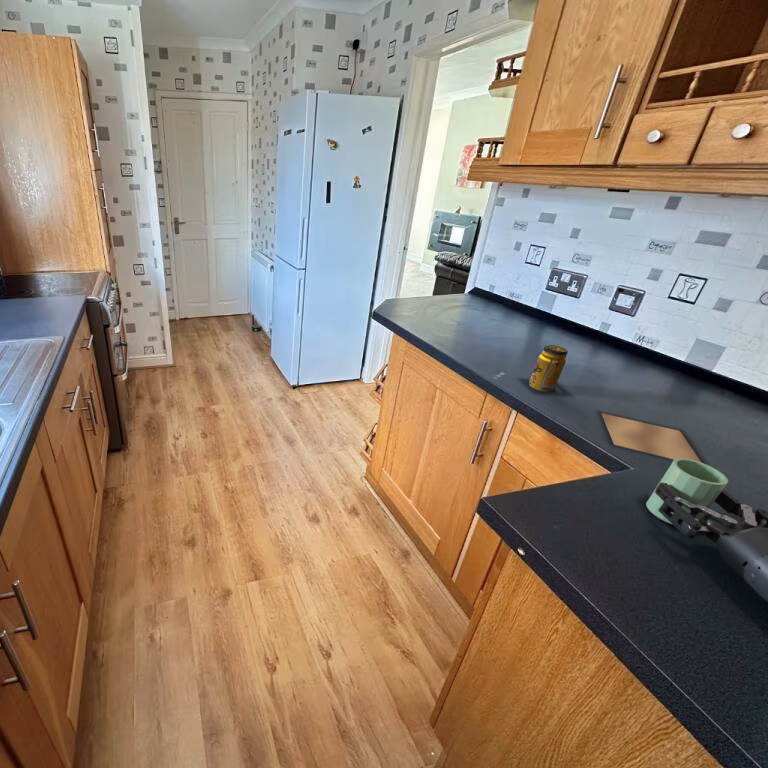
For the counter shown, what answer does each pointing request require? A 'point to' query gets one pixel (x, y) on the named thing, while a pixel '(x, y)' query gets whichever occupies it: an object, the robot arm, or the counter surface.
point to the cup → (690, 485)
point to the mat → (649, 438)
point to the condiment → (548, 368)
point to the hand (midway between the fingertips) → (687, 489)
